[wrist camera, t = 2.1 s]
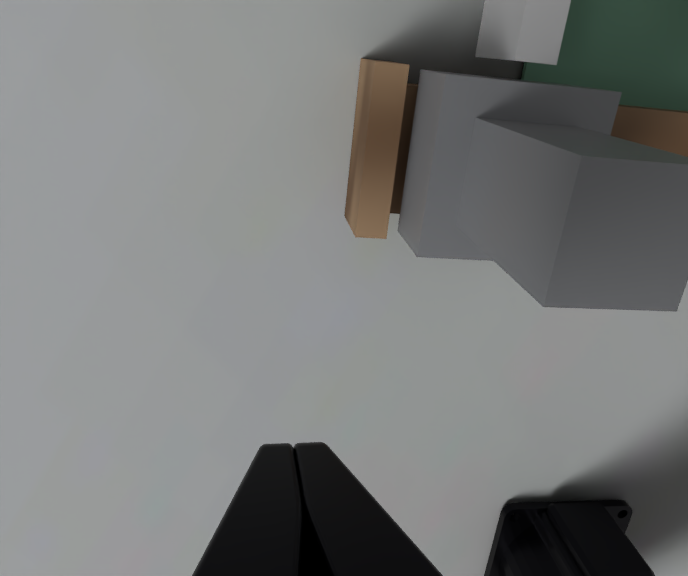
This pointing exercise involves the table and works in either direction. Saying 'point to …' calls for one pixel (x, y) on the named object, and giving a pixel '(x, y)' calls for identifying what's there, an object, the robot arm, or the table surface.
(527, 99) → the kicker
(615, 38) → the pitch mat
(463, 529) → the table surface
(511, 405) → the table surface
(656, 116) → the rail
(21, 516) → the table surface
